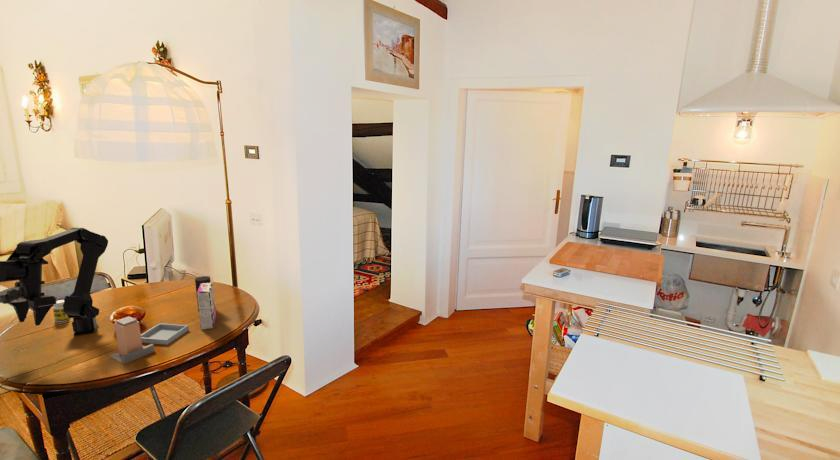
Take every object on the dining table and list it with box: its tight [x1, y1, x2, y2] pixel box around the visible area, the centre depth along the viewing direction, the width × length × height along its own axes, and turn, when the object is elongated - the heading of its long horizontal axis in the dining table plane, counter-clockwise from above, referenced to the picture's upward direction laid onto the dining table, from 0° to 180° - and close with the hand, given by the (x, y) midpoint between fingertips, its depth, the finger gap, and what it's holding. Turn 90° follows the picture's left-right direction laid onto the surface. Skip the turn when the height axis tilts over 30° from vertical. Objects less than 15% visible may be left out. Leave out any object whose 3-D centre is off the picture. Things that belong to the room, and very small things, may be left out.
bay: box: [109, 344, 155, 365], centre depth 147 cm, size 10×10×3 cm
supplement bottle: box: [52, 299, 71, 323], centre depth 171 cm, size 5×5×8 cm
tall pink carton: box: [114, 316, 143, 356], centre depth 146 cm, size 6×5×13 cm
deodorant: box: [194, 275, 211, 312], centre depth 184 cm, size 6×6×15 cm
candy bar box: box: [196, 281, 217, 331], centre depth 170 cm, size 11×5×16 cm, turn 21°
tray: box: [141, 322, 190, 346], centre depth 160 cm, size 12×12×2 cm
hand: (29, 323), depth 141 cm, fingers open, 9 cm apart
